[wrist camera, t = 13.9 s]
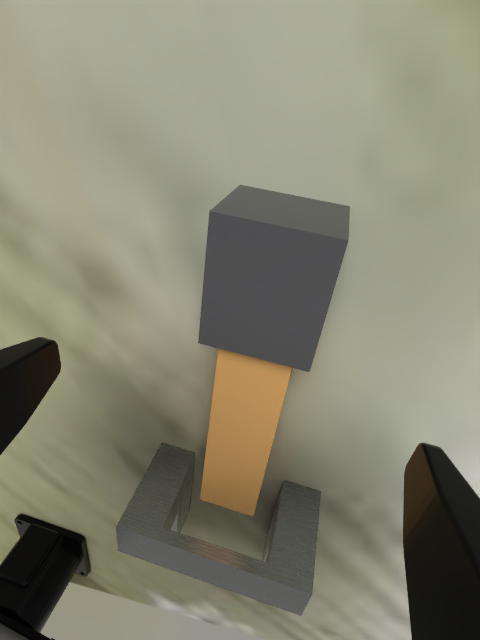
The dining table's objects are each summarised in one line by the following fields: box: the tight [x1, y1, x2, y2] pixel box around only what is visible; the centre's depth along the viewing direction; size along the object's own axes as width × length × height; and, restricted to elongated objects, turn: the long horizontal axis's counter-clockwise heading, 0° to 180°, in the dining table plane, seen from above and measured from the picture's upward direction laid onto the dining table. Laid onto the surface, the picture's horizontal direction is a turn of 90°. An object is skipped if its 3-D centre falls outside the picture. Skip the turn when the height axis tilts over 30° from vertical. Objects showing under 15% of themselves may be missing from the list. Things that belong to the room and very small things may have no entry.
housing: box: [116, 443, 321, 616], centre depth 23 cm, size 6×10×6 cm, turn 82°
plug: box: [198, 185, 350, 516], centre depth 17 cm, size 16×4×4 cm, turn 172°
